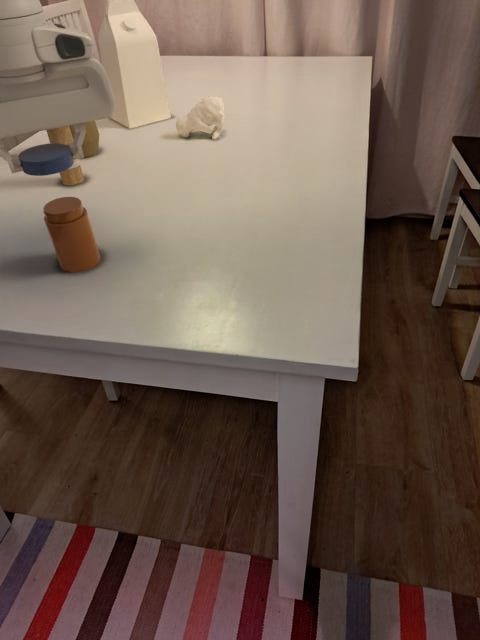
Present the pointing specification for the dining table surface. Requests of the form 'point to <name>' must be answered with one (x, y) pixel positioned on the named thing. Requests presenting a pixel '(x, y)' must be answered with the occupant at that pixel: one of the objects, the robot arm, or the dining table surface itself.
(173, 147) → the dining table surface
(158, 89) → the milk
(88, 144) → the squeeze bottle
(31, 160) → the lid
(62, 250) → the jar
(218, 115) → the white lumpy piece
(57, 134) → the sprinkles bottle
